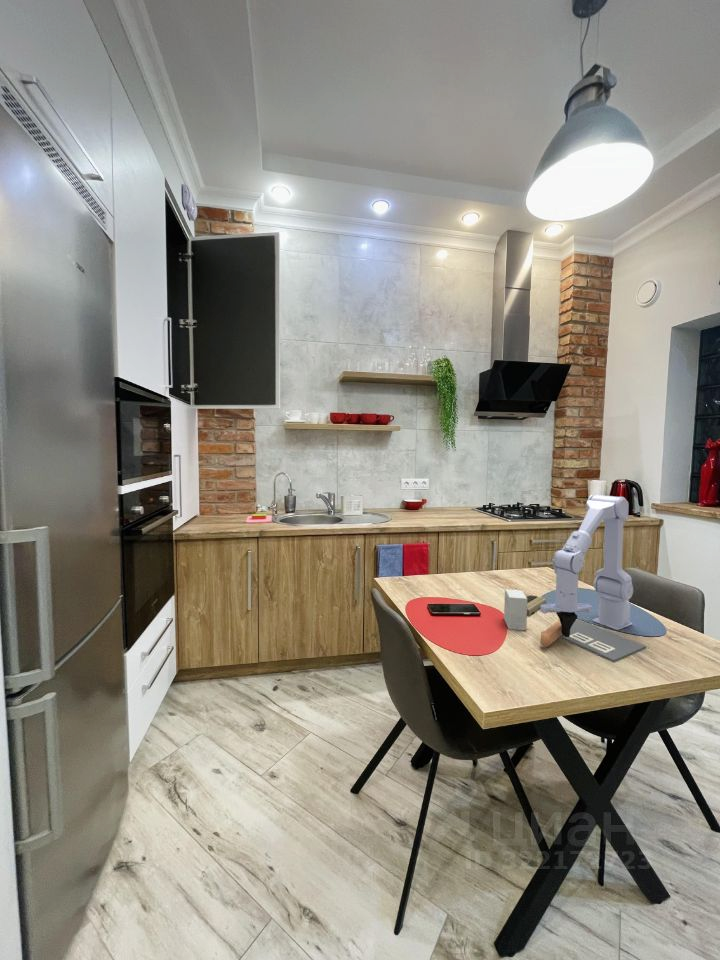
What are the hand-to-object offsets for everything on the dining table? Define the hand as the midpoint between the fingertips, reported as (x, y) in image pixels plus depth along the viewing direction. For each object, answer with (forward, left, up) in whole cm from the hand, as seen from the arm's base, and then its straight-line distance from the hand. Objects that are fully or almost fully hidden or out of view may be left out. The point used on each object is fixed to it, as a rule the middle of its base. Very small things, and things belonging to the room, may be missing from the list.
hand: (565, 635), depth 113 cm
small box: (+4, -15, -2) cm, 15 cm away
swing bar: (+3, -2, -1) cm, 4 cm away
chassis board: (-10, +3, -2) cm, 10 cm away
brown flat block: (-12, -23, -3) cm, 26 cm away
